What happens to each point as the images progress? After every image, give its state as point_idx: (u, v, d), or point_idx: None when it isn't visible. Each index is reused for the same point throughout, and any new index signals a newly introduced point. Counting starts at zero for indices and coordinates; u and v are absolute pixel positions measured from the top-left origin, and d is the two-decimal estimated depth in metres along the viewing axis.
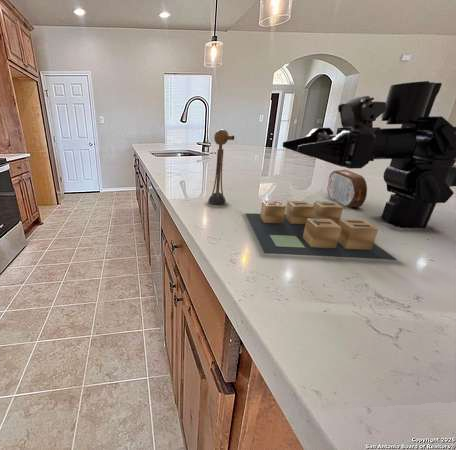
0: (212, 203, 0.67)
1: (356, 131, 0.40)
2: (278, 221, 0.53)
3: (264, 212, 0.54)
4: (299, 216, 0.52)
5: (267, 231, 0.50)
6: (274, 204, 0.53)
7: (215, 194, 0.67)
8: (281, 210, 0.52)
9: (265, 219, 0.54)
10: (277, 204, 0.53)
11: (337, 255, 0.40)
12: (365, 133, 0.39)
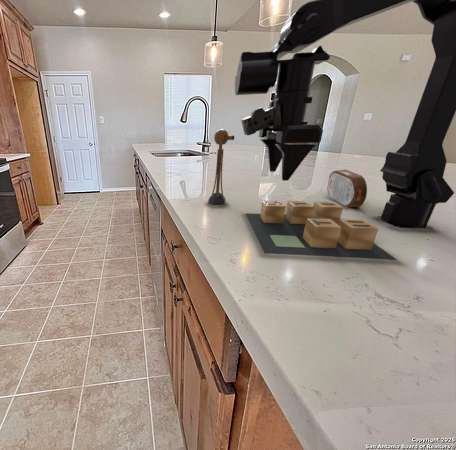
0: (212, 203, 0.67)
1: (280, 142, 0.42)
2: (278, 221, 0.53)
3: (264, 212, 0.54)
4: (299, 216, 0.52)
5: (267, 231, 0.50)
6: (274, 204, 0.53)
7: (215, 194, 0.67)
8: (281, 210, 0.52)
9: (265, 219, 0.54)
10: (277, 204, 0.53)
11: (337, 255, 0.40)
12: (285, 138, 0.41)
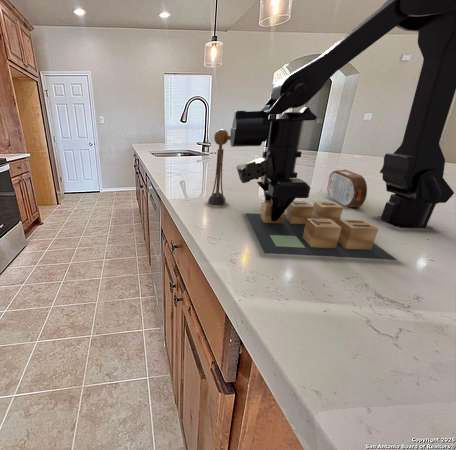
0: (212, 203, 0.67)
1: (272, 195, 0.46)
2: (278, 221, 0.53)
3: (264, 212, 0.54)
4: (299, 216, 0.52)
5: (267, 231, 0.50)
6: None
7: (215, 194, 0.67)
8: None
9: (265, 219, 0.54)
10: None
11: (337, 255, 0.40)
12: (276, 193, 0.44)
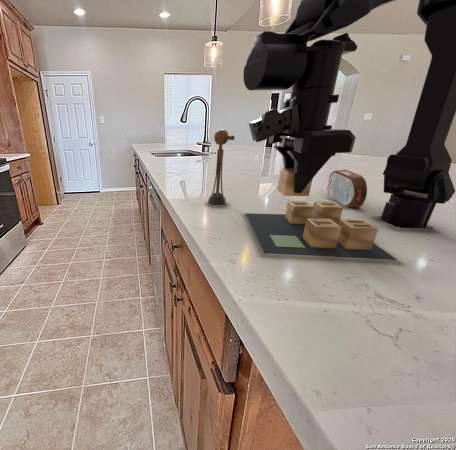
0: (212, 203, 0.67)
1: (300, 152, 0.33)
2: (303, 193, 0.41)
3: (284, 182, 0.42)
4: (299, 216, 0.52)
5: (267, 231, 0.50)
6: None
7: (215, 194, 0.67)
8: None
9: (286, 191, 0.42)
10: None
11: (337, 255, 0.40)
12: (306, 146, 0.32)
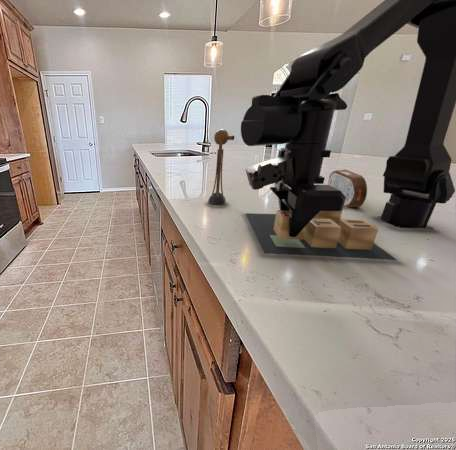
0: (212, 203, 0.67)
1: (294, 207, 0.35)
2: (297, 237, 0.43)
3: (280, 225, 0.43)
4: None
5: (267, 231, 0.50)
6: None
7: (215, 194, 0.67)
8: None
9: (281, 234, 0.43)
10: None
11: (337, 255, 0.40)
12: (300, 204, 0.34)
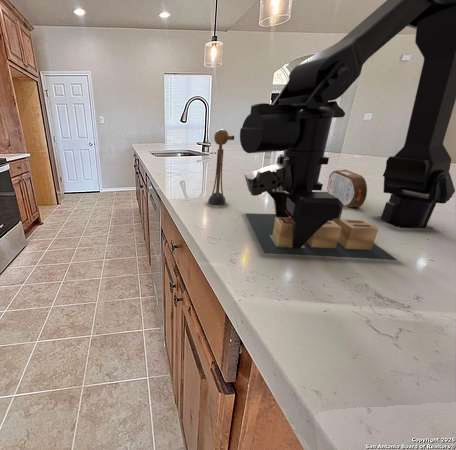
0: (212, 203, 0.67)
1: None
2: None
3: (278, 232, 0.44)
4: None
5: (267, 231, 0.50)
6: (291, 223, 0.43)
7: (215, 194, 0.67)
8: None
9: (280, 241, 0.44)
10: None
11: (337, 255, 0.40)
12: (298, 211, 0.34)
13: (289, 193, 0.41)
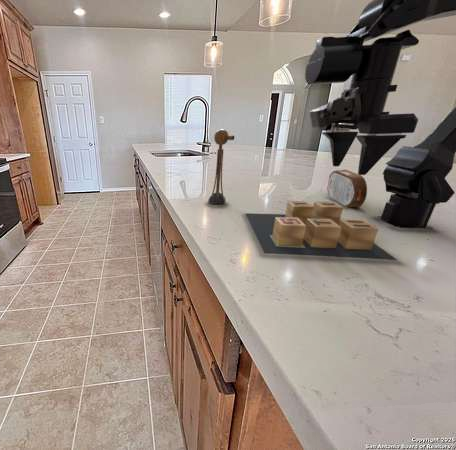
0: (212, 203, 0.67)
1: (367, 133, 0.39)
2: (296, 243, 0.43)
3: (278, 232, 0.44)
4: (299, 216, 0.52)
5: (267, 231, 0.50)
6: (291, 223, 0.43)
7: (215, 194, 0.67)
8: (300, 230, 0.42)
9: (280, 241, 0.44)
10: (295, 223, 0.43)
11: (337, 255, 0.40)
12: (375, 128, 0.38)
13: (354, 124, 0.45)
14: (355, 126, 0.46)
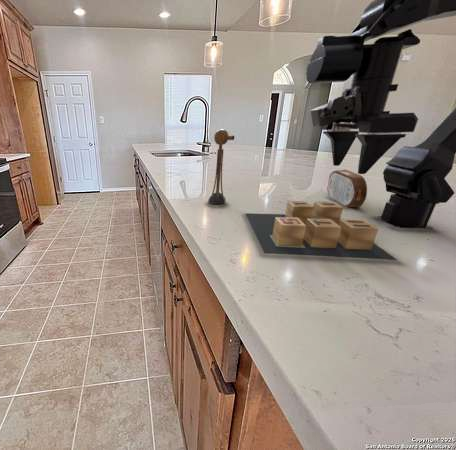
0: (212, 203, 0.67)
1: (367, 132, 0.39)
2: (296, 243, 0.43)
3: (278, 232, 0.44)
4: (299, 216, 0.52)
5: (267, 231, 0.50)
6: (291, 223, 0.43)
7: (215, 194, 0.67)
8: (300, 230, 0.42)
9: (280, 241, 0.44)
10: (295, 223, 0.43)
11: (337, 255, 0.40)
12: (375, 127, 0.38)
13: (355, 123, 0.45)
14: (356, 125, 0.46)
